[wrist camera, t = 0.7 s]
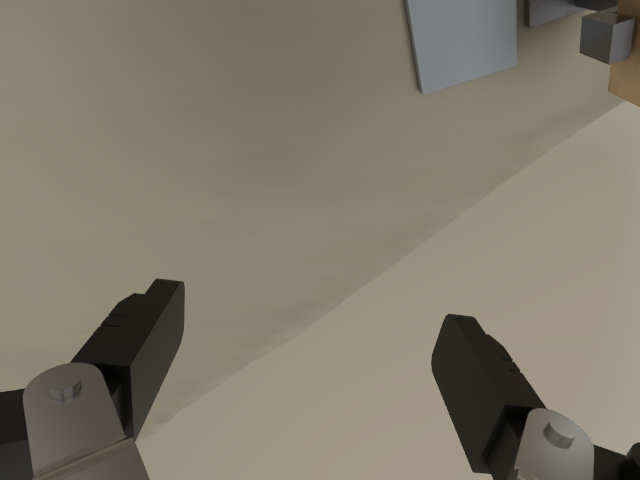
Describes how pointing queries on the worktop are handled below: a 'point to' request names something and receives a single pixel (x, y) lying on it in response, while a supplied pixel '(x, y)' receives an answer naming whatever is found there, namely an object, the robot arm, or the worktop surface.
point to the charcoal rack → (589, 25)
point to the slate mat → (461, 40)
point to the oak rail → (634, 73)
